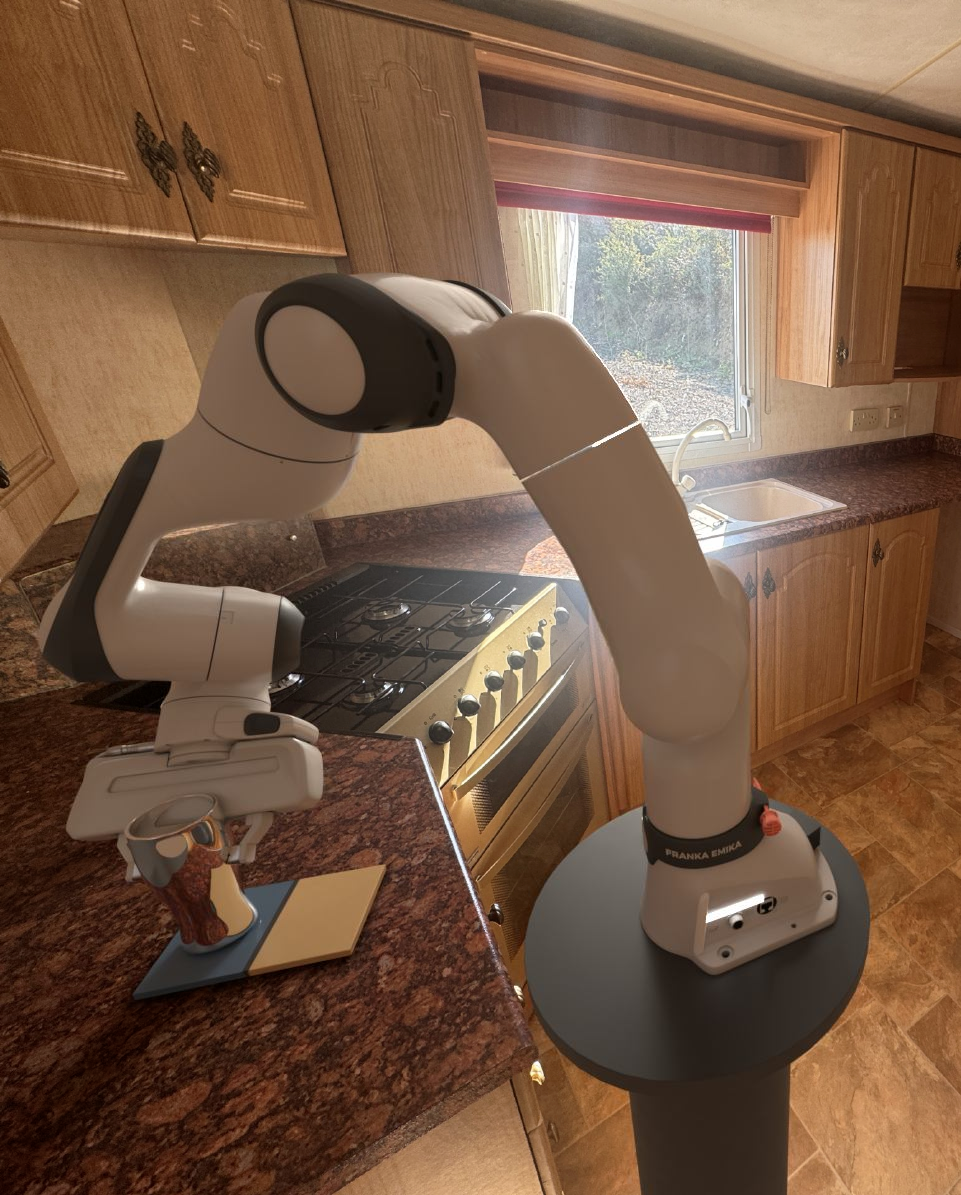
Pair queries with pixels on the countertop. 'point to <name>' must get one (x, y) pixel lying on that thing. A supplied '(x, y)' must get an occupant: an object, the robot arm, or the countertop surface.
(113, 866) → the countertop surface
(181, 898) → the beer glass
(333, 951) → the sorting board
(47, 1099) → the countertop surface
